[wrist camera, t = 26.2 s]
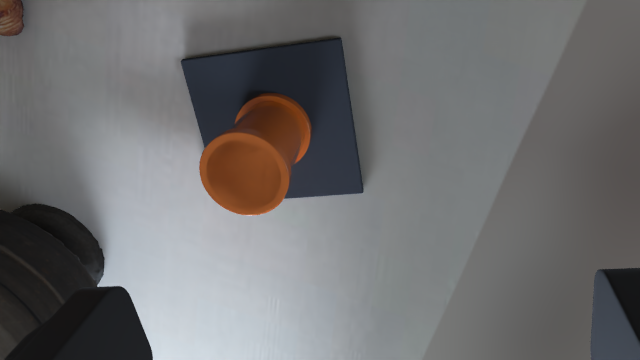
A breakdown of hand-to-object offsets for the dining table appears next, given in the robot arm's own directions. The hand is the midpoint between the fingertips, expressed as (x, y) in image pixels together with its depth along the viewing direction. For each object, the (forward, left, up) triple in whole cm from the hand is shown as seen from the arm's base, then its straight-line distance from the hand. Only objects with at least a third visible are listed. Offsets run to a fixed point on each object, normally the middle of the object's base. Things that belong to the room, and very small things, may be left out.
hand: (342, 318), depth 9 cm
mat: (+10, +7, -30) cm, 32 cm away
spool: (+10, +7, -30) cm, 32 cm away
